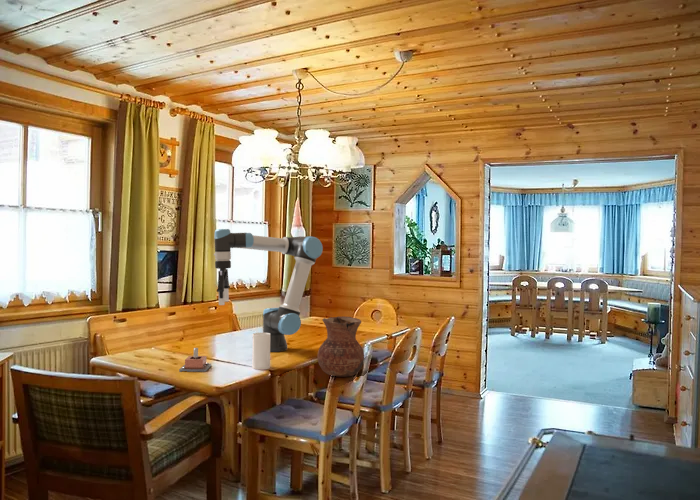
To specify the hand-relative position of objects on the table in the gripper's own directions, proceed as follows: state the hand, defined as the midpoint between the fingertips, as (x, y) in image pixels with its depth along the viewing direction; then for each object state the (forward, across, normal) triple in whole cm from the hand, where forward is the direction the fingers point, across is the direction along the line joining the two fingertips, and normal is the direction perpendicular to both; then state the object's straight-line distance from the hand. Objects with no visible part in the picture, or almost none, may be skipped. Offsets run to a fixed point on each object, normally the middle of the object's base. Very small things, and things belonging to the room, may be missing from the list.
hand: (223, 303), depth 270 cm
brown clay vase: (+30, +27, +56) cm, 69 cm away
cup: (+29, +15, +19) cm, 38 cm away
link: (+27, +16, -11) cm, 33 cm away
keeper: (+28, +17, -11) cm, 34 cm away
